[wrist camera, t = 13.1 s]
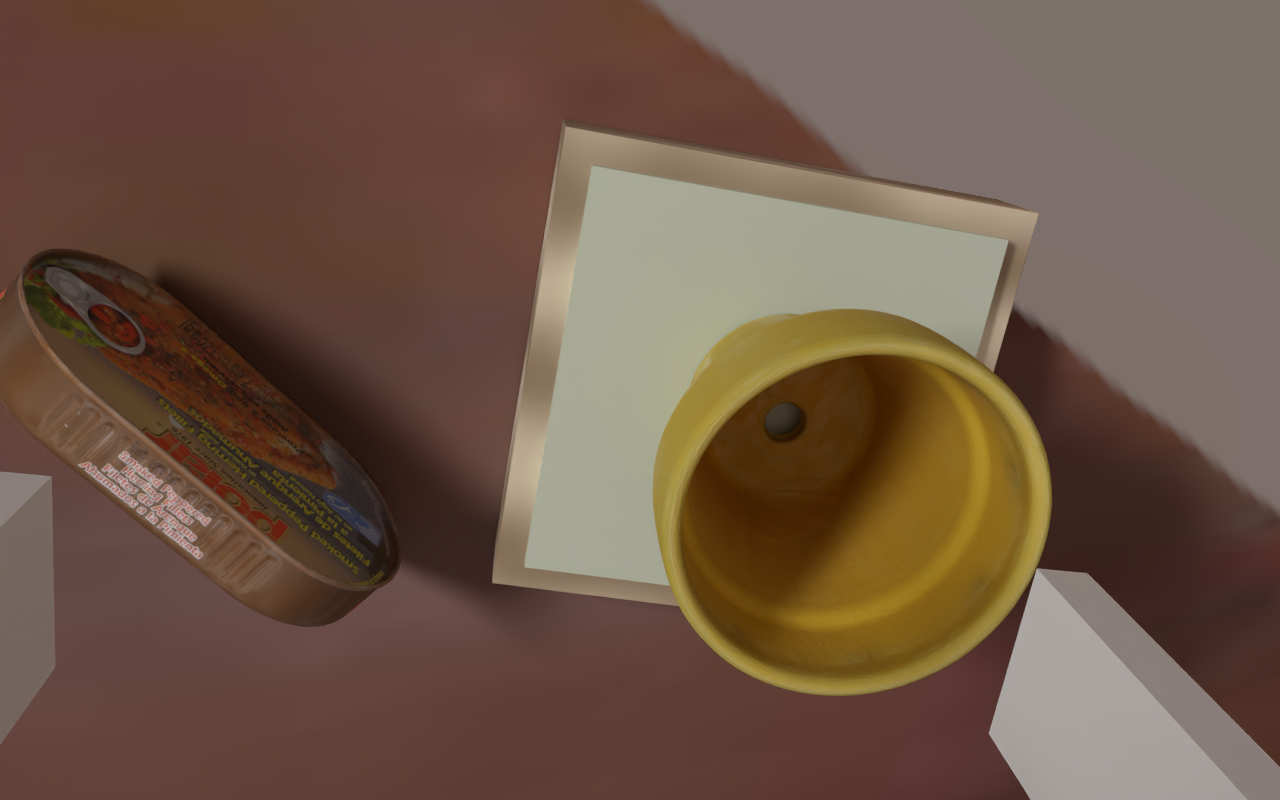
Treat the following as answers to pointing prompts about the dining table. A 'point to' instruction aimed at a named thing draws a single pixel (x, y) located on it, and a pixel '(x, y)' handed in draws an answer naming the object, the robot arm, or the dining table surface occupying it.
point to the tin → (191, 439)
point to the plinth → (704, 320)
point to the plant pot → (848, 501)
